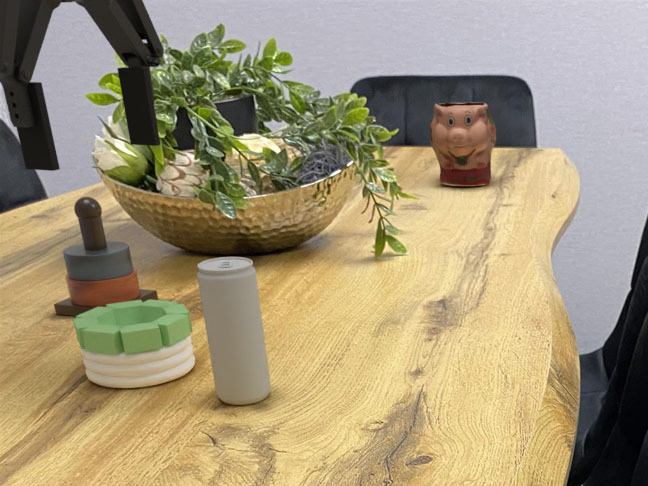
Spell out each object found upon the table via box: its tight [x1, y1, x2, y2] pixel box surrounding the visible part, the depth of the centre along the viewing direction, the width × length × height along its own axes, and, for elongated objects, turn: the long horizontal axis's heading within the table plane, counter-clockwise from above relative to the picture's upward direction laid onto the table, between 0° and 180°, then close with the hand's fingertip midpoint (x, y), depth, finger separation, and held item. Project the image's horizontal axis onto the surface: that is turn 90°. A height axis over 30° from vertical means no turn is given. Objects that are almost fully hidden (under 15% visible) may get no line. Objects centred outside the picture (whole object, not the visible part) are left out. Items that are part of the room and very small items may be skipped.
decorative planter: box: [429, 101, 497, 187], centre depth 177 cm, size 20×12×14 cm, turn 5°
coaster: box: [79, 334, 196, 389], centre depth 92 cm, size 10×10×4 cm
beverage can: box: [196, 256, 272, 406], centre depth 84 cm, size 5×5×12 cm
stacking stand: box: [53, 196, 159, 317], centre depth 109 cm, size 8×8×12 cm
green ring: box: [72, 299, 194, 354], centre depth 91 cm, size 10×10×2 cm
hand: (97, 156), depth 84 cm, fingers open, 13 cm apart
